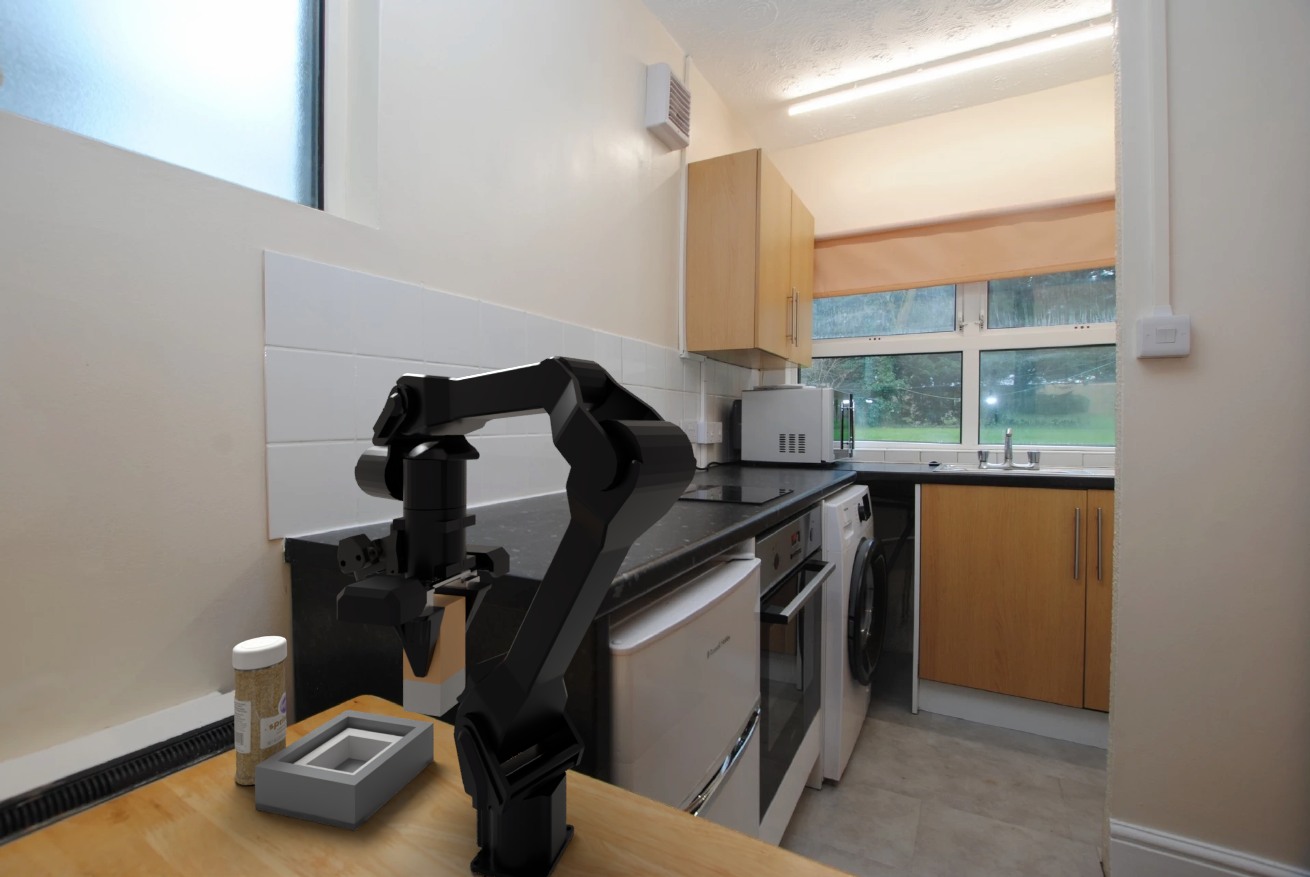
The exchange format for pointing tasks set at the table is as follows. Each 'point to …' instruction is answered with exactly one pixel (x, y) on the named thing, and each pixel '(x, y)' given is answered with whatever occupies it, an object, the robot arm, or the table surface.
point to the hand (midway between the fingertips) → (435, 667)
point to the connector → (440, 664)
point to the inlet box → (344, 768)
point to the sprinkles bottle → (259, 703)
